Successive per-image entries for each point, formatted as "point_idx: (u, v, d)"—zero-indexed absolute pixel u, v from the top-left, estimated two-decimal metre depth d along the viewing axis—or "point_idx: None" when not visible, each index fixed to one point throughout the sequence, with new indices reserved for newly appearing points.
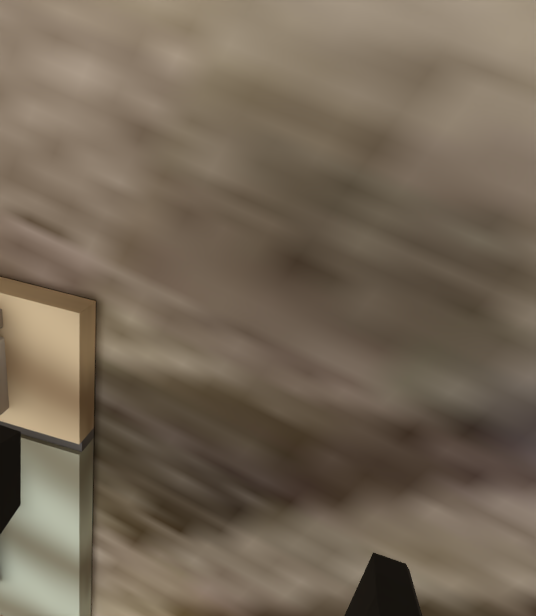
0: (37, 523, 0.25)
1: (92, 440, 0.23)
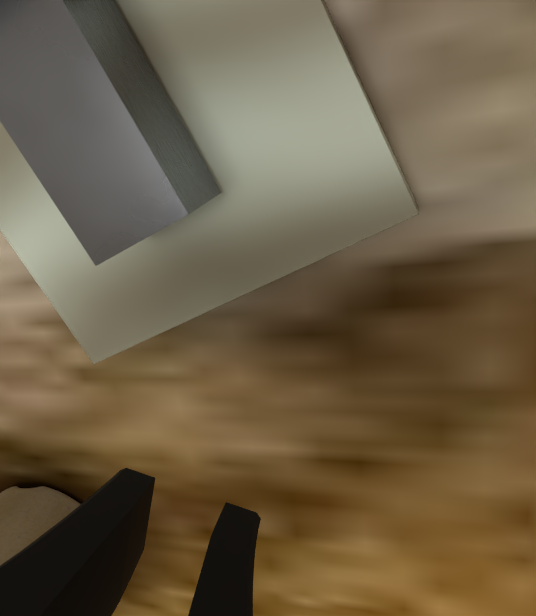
0: None
1: None
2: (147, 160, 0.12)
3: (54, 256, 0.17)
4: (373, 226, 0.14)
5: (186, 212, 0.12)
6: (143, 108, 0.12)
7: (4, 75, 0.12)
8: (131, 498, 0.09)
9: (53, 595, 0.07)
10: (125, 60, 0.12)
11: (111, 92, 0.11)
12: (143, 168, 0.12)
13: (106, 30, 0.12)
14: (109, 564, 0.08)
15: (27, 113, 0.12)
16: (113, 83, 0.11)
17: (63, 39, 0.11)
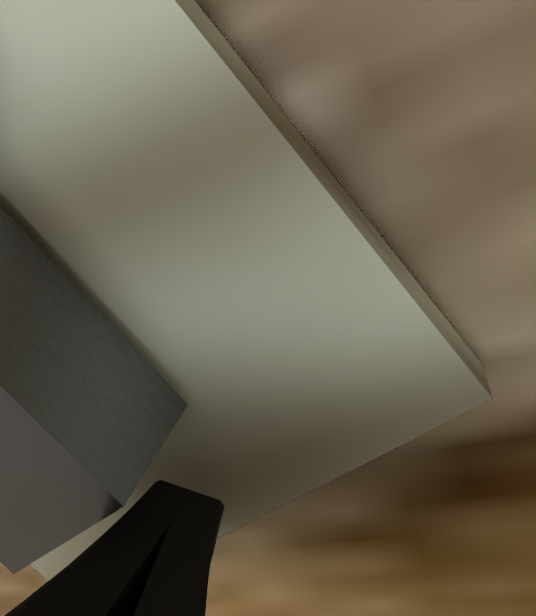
0: (63, 87, 0.08)
1: None
2: (40, 439, 0.07)
3: None
4: (423, 421, 0.09)
5: (119, 504, 0.07)
6: (29, 347, 0.08)
7: None
8: (169, 511, 0.09)
9: (102, 613, 0.07)
10: None
11: None
12: (39, 450, 0.07)
13: None
14: None
15: None
16: None
17: None
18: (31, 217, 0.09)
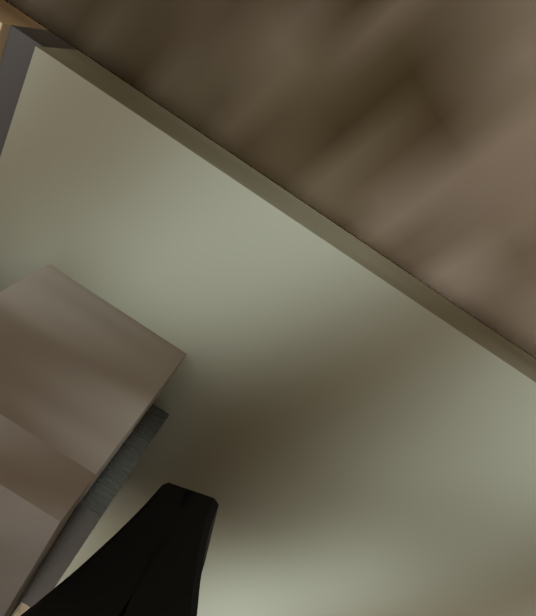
0: (243, 331, 0.09)
1: (75, 51, 0.09)
2: None
3: None
4: None
5: (98, 515, 0.08)
6: None
7: None
8: (177, 514, 0.09)
9: None
10: None
11: None
12: None
13: None
14: None
15: None
16: None
17: None
18: (229, 436, 0.10)
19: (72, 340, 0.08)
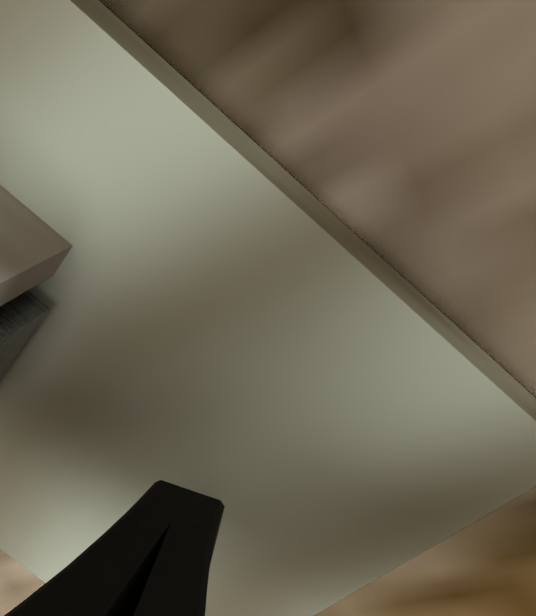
0: (131, 226, 0.09)
1: None
2: None
3: None
4: (511, 488, 0.09)
5: None
6: None
7: None
8: (169, 511, 0.09)
9: (102, 614, 0.07)
10: None
11: None
12: None
13: None
14: None
15: None
16: None
17: None
18: (111, 340, 0.10)
19: None
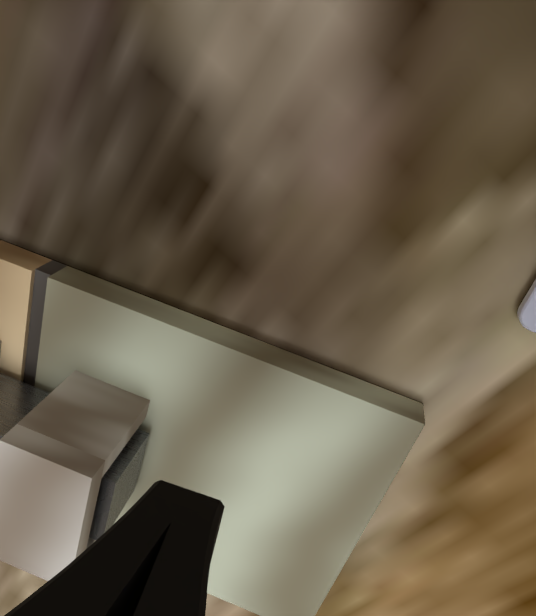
0: (173, 383, 0.18)
1: (66, 267, 0.18)
2: None
3: (228, 582, 0.22)
4: (403, 449, 0.17)
5: (113, 482, 0.17)
6: None
7: None
8: (169, 511, 0.09)
9: (102, 613, 0.07)
10: None
11: None
12: None
13: (14, 409, 0.18)
14: None
15: None
16: None
17: None
18: (183, 438, 0.19)
19: (90, 405, 0.17)
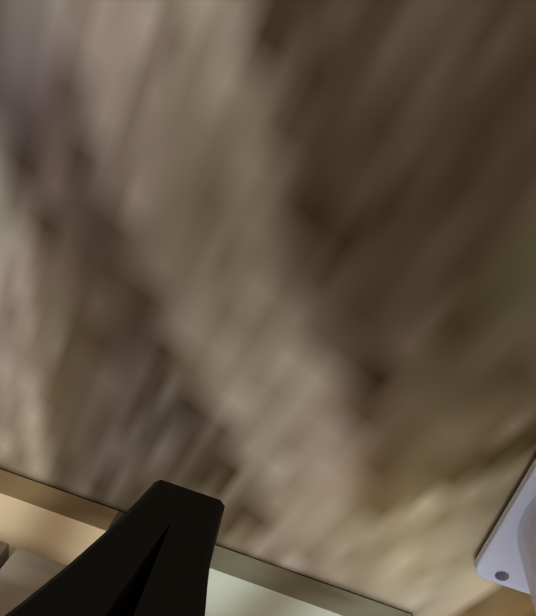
0: (217, 605, 0.23)
1: None
2: None
3: None
4: None
5: None
6: None
7: None
8: (169, 511, 0.09)
9: (102, 613, 0.07)
10: None
11: None
12: None
13: None
14: None
15: None
16: None
17: None
18: None
19: None
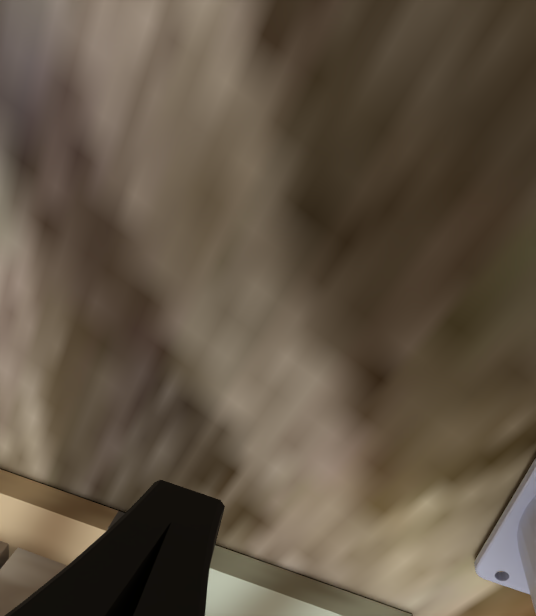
0: (217, 605, 0.23)
1: None
2: None
3: None
4: None
5: None
6: None
7: None
8: (169, 511, 0.09)
9: (102, 613, 0.07)
10: None
11: None
12: None
13: None
14: None
15: None
16: None
17: None
18: None
19: None
